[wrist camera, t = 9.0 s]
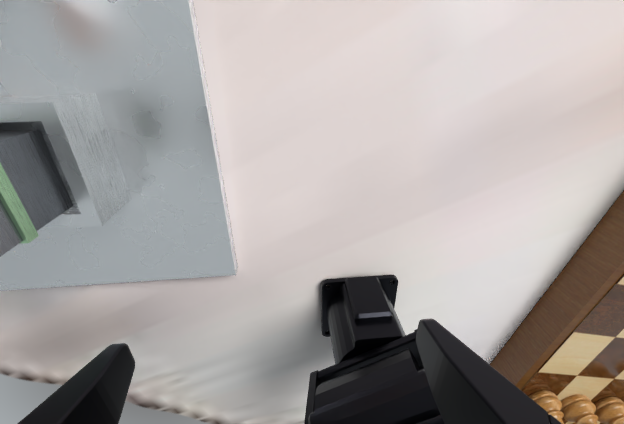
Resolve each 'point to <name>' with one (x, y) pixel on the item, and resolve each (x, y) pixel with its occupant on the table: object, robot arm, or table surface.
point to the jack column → (27, 187)
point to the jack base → (116, 141)
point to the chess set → (577, 334)
